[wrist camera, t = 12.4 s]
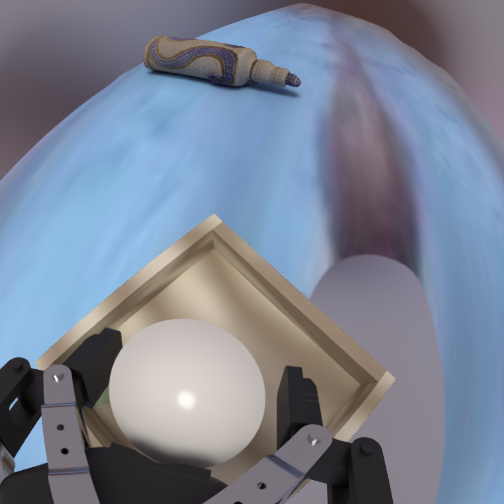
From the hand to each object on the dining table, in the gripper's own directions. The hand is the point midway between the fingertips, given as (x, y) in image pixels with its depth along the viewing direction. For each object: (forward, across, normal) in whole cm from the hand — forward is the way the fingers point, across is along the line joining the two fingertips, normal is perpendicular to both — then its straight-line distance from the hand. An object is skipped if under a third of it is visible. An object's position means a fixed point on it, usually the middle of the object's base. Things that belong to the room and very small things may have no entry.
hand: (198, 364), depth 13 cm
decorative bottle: (+34, -10, +22) cm, 41 cm away
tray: (+5, 0, -6) cm, 8 cm away
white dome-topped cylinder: (+4, 0, -6) cm, 7 cm away
